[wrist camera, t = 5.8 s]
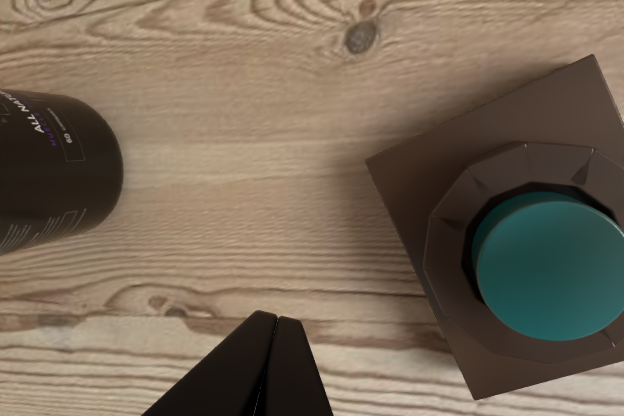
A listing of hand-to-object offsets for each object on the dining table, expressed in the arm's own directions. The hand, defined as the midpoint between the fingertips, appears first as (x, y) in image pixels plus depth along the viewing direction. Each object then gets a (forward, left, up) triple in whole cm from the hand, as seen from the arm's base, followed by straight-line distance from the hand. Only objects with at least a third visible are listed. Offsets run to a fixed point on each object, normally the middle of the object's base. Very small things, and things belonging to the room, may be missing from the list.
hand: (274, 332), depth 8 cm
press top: (-3, -5, -8) cm, 10 cm away
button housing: (-3, -5, -12) cm, 13 cm away
